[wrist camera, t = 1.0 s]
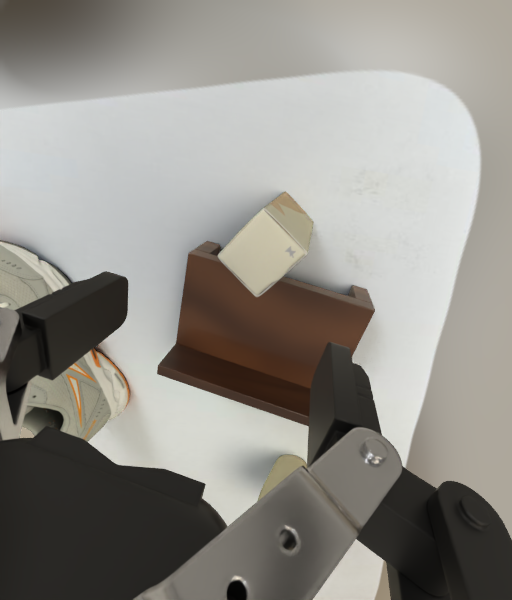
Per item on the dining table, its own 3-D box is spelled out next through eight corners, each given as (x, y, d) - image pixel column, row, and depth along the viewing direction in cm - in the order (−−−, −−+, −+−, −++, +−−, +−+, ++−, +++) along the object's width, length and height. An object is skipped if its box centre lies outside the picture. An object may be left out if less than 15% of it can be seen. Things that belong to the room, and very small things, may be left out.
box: (285, 189, 28) (266, 202, 18) (315, 222, 28) (312, 252, 18) (249, 227, 30) (214, 257, 20) (277, 257, 31) (256, 300, 21)
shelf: (207, 240, 31) (168, 265, 23) (367, 289, 30) (384, 333, 22) (192, 329, 37) (156, 374, 29) (327, 373, 35) (329, 433, 27)
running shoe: (28, 216, 35) (-128, 242, 22) (154, 399, 44) (91, 487, 32) (-23, 249, 38) (-181, 286, 26) (102, 411, 48) (28, 494, 35)
